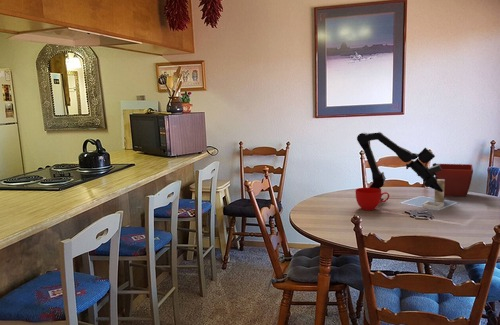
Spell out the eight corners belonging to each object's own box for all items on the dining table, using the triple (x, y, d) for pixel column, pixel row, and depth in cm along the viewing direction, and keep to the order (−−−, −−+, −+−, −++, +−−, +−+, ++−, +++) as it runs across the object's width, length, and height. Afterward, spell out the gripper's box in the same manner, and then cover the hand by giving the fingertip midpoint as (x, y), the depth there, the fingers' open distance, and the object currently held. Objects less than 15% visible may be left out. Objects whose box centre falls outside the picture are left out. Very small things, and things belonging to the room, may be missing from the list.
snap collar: (421, 206, 201) (422, 204, 200) (427, 203, 206) (427, 200, 206) (438, 209, 195) (438, 206, 195) (444, 205, 201) (444, 202, 201)
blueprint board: (438, 212, 193) (438, 210, 192) (398, 204, 210) (398, 202, 210) (459, 204, 206) (459, 202, 205) (420, 197, 223) (420, 195, 223)
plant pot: (433, 197, 221) (434, 168, 219) (435, 190, 238) (435, 163, 235) (472, 200, 212) (473, 170, 210) (471, 192, 229) (472, 164, 227)
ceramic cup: (391, 212, 197) (391, 193, 195) (356, 212, 200) (356, 193, 198) (387, 205, 209) (387, 187, 208) (354, 205, 213) (354, 187, 211)
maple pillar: (434, 202, 207) (435, 180, 205) (434, 200, 211) (435, 179, 209) (443, 203, 205) (444, 181, 203) (443, 201, 209) (444, 179, 207)
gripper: (431, 161, 198) (455, 184, 195) (432, 156, 215) (454, 177, 212) (414, 176, 203) (437, 198, 200) (416, 170, 219) (437, 190, 216)
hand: (442, 190), depth 207 cm, fingers closed on maple pillar, 4 cm apart
